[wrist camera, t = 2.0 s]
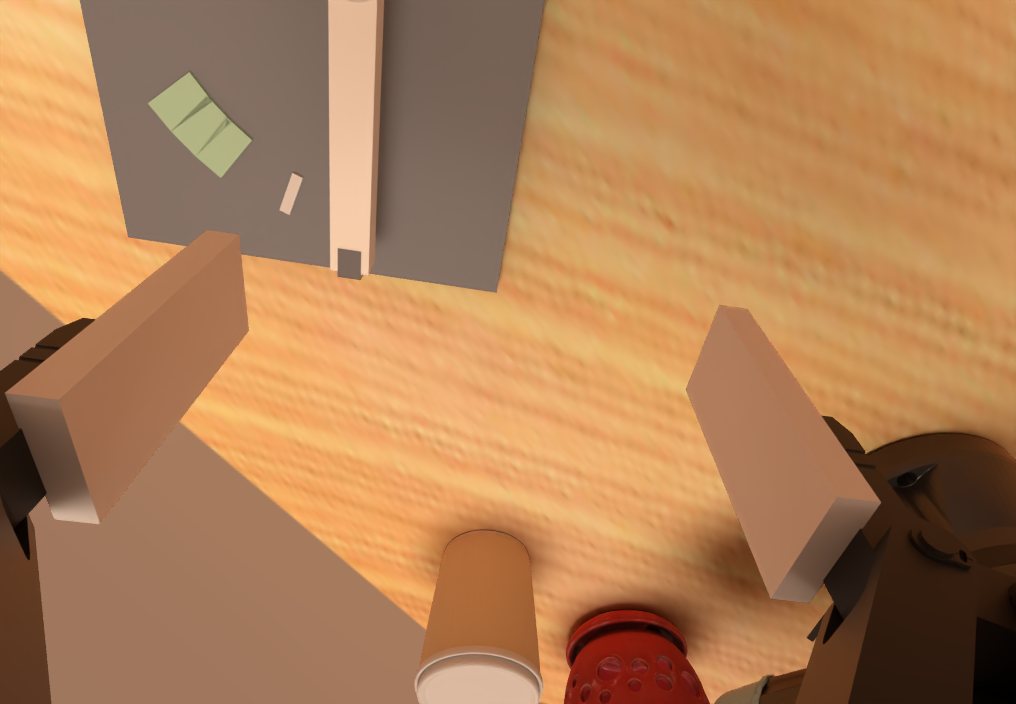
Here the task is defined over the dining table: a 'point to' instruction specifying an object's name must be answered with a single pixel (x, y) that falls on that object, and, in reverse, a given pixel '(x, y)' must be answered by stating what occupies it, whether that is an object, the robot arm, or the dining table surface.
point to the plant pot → (630, 662)
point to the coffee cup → (481, 626)
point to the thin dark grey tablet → (316, 126)
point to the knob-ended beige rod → (354, 132)
